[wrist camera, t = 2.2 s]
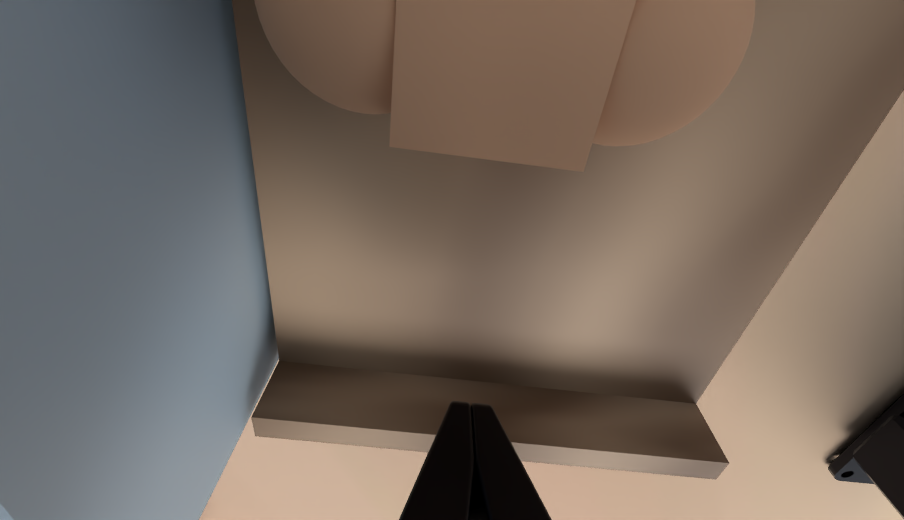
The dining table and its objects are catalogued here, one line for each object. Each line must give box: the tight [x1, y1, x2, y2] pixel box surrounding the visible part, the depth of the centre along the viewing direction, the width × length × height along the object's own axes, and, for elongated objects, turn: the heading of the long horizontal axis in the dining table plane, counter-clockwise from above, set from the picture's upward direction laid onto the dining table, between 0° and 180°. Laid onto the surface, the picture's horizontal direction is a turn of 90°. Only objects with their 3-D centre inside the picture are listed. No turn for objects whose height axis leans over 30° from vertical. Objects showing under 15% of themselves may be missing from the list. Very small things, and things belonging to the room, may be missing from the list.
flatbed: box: [232, 0, 904, 479], centre depth 10 cm, size 14×17×4 cm
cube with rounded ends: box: [254, 0, 755, 172], centre depth 6 cm, size 7×3×3 cm, turn 83°
